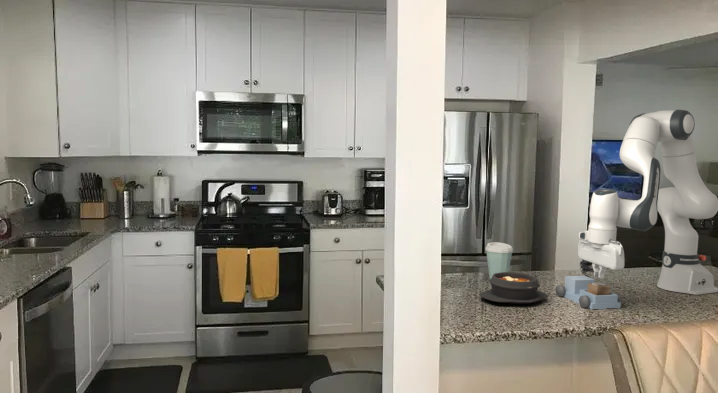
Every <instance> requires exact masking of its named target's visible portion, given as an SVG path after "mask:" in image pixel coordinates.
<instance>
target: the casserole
mask: <svg viewBox="0 0 718 393" xmlns="http://www.w3.org/2000/svg"><path fill="white" fill-rule="evenodd" d="M489 283H490V285H491V286H490V287H491V288H490V289H488V290H485V291H481V292H479V293H478V295H479V296H480V297H481V298H483V299H484V300H488V301H490V302H494V303H504V304H511V305H526V304H530V303H531V304H532V303H536V302H538V301H541V300H543V299H546V298H548V297H549V295H548V294H547V293H546V292H543V291H541V290H538V288H539V287H540V283H539V282H538V278H537V277H535V276H533V275H531V274H527V273H521V272H515V271H514V272H513V271H509V272H501V273H495V274H493V276H492V278H491V279H490V278H489Z"/></svg>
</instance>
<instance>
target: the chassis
mask: <svg viewBox="0 0 718 393" xmlns="http://www.w3.org/2000/svg"><path fill="white" fill-rule="evenodd" d="M590 277H591V276H589V277H587V276H583V275H567V276H566V275H565V276H564V285H563V284H558V285H556V286H555V293H556V294H555V295H556V296H558V297H562V298H565V299H567V300H570V301H571V300H572V301H571V302H574V303H576V302H577V303H576V304H578V303H579V304H578V305H579V306H580V308H582V307H583V309H584V308H585V309H586V308H587V309H589V308H590V309H589V310H591V309H599V310H607V309H606V308H618V309H621V306H622V305H623V301H624V300H623V297H622V295H621V294H620V293H614V292H611V291H610V295H597V296H596V295H594V294H591V293H589V292H587V289H588V284H592V283H594V282H596V279H595V278H593V277H591V278H590Z"/></svg>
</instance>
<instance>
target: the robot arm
mask: <svg viewBox="0 0 718 393" xmlns="http://www.w3.org/2000/svg"><path fill="white" fill-rule="evenodd" d="M629 122H630V123H629V127H628V128H627V130H626V132H625V135H624V137H623V139H622V142H621V145H620V149H619V158H620V161H621V163H622V164H623V165H624V166H625V167H627V168H628V169H629V170H631V171H633V172H635V173H637V174H640V175H642V176H643V186H642V193H641V198H640V199H637V200H635V199H624V198H621V197H619V196H618V195H619V194H618V191H617V190H615V189H611V188H600V189H597V190H595V191H593V193H592V195H591V200H590V204H589V212H588V213H589V223H588V229H587V230H584V231H579V232H578V239H579V240H578V242H577V244H578V246H577V256H578V259H580V260H582V259H583V260H586V261H589V262H590V263H591V267H593V270H594V272H593V277H596V278H597V279H604V278H605V273H606V271H608V269H609V270H613V271H622V270H623V269H624V268H625V251H624V247H623V244H622V243H621V242H620V241H619V240H617V231H618V227H619V228H624V229H625V228H626V229H632V230H635V231H640V232H646V231H648V230H650V229H652V228H653V227H654V226H656V224H657V222H658V213H659V216H660V217H661V220H662V223H663V227H664V250H663V251H662V257H661V258H662V259H661V260H662V265H661V269H660V273H659V279H658V281H657V284H656V287H658V288H659V289H662V290H664V291H670V292H675V293H684V294H689V295H695V296H697V295H705V294H706V295H707V294H713V293H718V286H716V285H715V278H714V275H713V274H712V272H710V271H709V270H708V269H707V268H706V267H704V266H703V265H702V264H701V261H703V262H704V261H706V260H707V256H706V255H704V254H700V255H699V254H698V248H699V233H698V232H697V230H696V229H694V227H693V226H692V224H691V222H690V219H693V220H694V219H695V220H704V219H705V220H707V219H712V218H713V217H715V215H716V214H717V213H718V196H717V195H716V194H715V193H712V191H711V190H710V189H709V188H708V187H707V186H706V185H705V183H704V181H703V180H702V177H701V176H700V173H699V168H698V164H697V158H696V151H695V150H696V149H695V146H694V145H695V143H694V140H693V136H692V134H693V132H694V130H695V118H694V116H693V115H692V113H691V112H690V111H689V110H686V109H675V110H674V109H673V110H672V109H671V110H669V109H668V110H664V109H663V110H658V111H653V112H648V113H645V112H643V113H640V114H637V115H635V116H634V117H633V118H632V119H631V121H629ZM659 142H660V154H661V161H662V169H663V174H664V176H665V178H666V179H667V180H669V181H670V183H672V184H673V186H669V187H663V188H660V184H661V182H660V181H661V171H662V170H661V163H660V160H658V159H657V158H656V156H655V153H656V150H657V146H658V143H659ZM583 260H582V261H583Z"/></svg>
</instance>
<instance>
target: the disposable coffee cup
mask: <svg viewBox="0 0 718 393" xmlns="http://www.w3.org/2000/svg"><path fill="white" fill-rule="evenodd" d="M486 244H487V245H486V246H485V251H486V261H487V268H488V270H487V271H488V277H489V280H490V279H491V278H492V276H493V274H495V273H501V272H510V267H511V263H512V262H511V261H512V255H513V251H514V248H513V247H512V245H510V244H508V243H505V242H499V241H495V242H494V241H493V242H488V243H486Z"/></svg>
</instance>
